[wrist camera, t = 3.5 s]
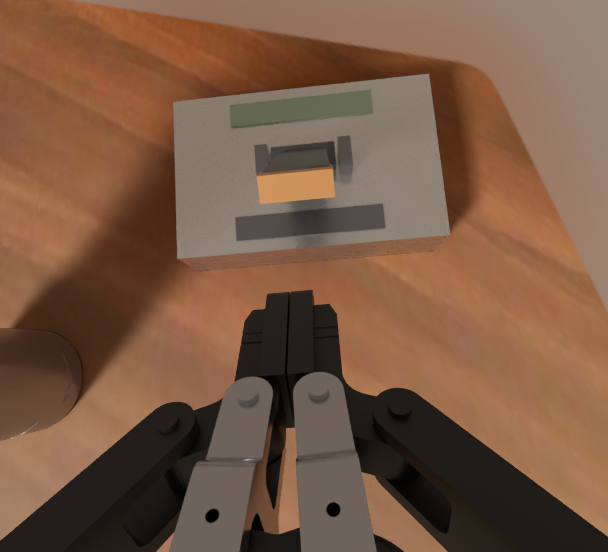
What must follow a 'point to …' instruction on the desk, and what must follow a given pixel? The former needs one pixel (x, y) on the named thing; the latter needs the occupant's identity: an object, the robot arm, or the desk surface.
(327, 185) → the breaker lever
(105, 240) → the desk surface
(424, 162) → the breaker box
